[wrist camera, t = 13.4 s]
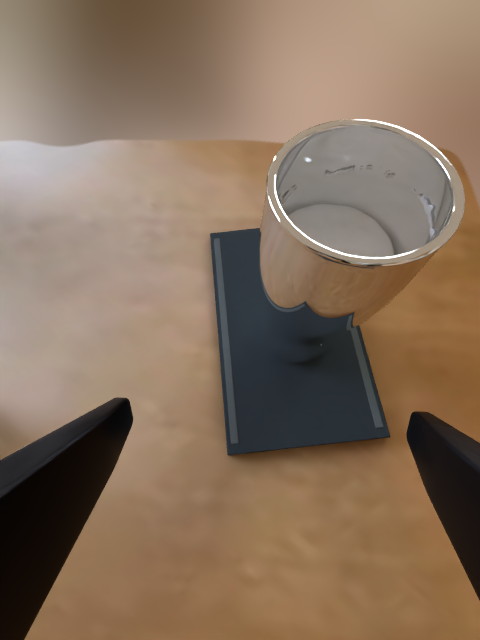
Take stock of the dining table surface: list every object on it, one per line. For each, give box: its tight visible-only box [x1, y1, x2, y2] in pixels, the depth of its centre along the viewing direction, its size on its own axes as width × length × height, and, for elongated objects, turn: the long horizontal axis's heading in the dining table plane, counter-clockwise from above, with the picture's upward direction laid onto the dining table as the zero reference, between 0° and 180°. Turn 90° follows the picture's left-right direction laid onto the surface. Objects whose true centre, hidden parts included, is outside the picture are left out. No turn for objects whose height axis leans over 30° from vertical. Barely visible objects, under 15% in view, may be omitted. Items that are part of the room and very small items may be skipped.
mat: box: [210, 228, 390, 455], centre depth 24 cm, size 20×12×1 cm, turn 6°
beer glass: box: [258, 119, 465, 363], centre depth 16 cm, size 7×7×15 cm
